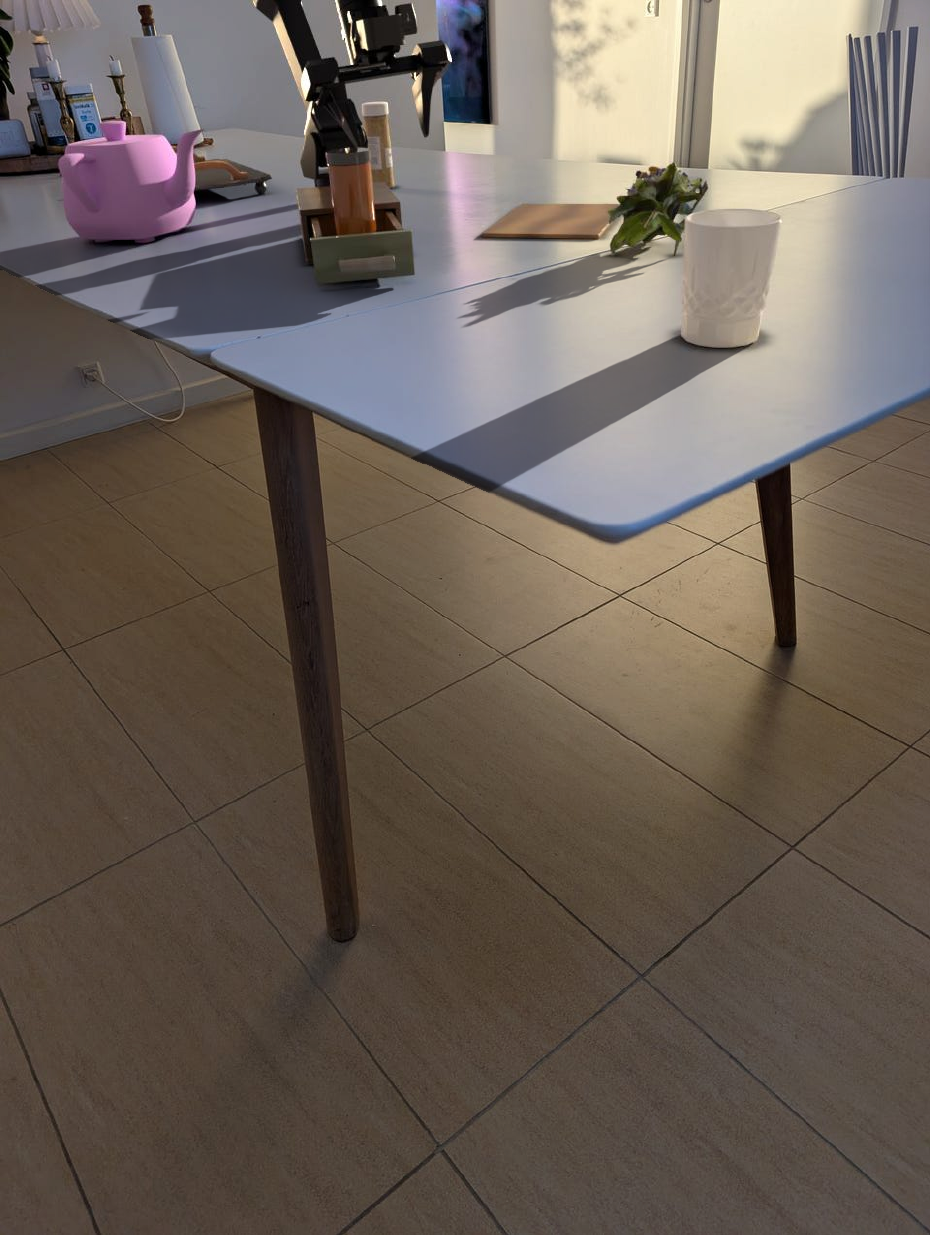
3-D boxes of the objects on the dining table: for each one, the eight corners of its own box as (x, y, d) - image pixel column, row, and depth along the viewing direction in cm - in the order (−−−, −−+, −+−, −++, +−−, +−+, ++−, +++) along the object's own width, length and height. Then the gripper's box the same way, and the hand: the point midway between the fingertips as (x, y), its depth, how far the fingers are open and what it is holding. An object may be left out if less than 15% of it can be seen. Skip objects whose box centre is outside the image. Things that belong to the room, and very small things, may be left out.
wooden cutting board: (482, 237, 120) (482, 233, 120) (522, 207, 138) (522, 203, 137) (598, 238, 116) (599, 234, 116) (625, 207, 133) (625, 203, 133)
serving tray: (281, 195, 159) (275, 156, 155) (151, 212, 150) (142, 171, 147) (225, 172, 188) (219, 139, 184) (113, 185, 179) (104, 151, 176)
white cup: (664, 327, 83) (673, 212, 77) (747, 321, 83) (761, 206, 78) (689, 354, 76) (701, 229, 71) (778, 347, 77) (797, 223, 71)
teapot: (37, 252, 126) (1, 133, 118) (126, 223, 142) (100, 116, 134) (175, 256, 120) (148, 129, 111) (251, 224, 136) (232, 112, 128)
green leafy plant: (643, 287, 115) (684, 198, 114) (695, 288, 106) (741, 191, 104) (578, 244, 110) (620, 149, 108) (627, 241, 100) (675, 137, 99)
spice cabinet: (404, 256, 113) (400, 201, 109) (307, 265, 111) (299, 210, 108) (389, 230, 127) (384, 181, 124) (302, 238, 126) (295, 188, 122)
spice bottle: (329, 257, 106) (316, 152, 100) (359, 249, 109) (347, 146, 103) (359, 262, 103) (347, 154, 97) (388, 253, 106) (378, 148, 100)
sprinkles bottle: (399, 187, 159) (392, 101, 152) (377, 191, 157) (369, 104, 150) (387, 185, 162) (379, 100, 155) (365, 188, 160) (356, 103, 153)
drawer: (420, 284, 97) (416, 238, 95) (318, 293, 96) (312, 247, 93) (397, 246, 114) (394, 206, 112) (310, 254, 113) (305, 214, 110)
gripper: (295, -14, 101) (333, 132, 105) (447, -34, 106) (478, 107, 109) (286, 31, 112) (320, 163, 115) (424, 11, 116) (453, 138, 120)
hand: (393, 142), depth 115 cm, fingers open, 9 cm apart
